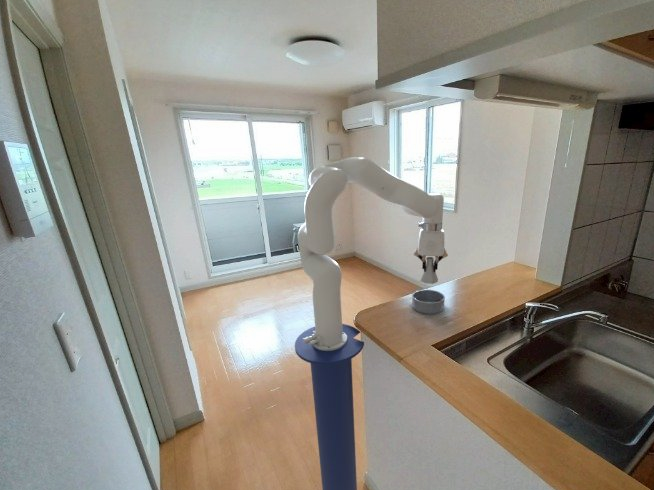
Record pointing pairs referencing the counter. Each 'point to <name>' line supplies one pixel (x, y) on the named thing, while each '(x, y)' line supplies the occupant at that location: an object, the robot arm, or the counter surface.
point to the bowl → (428, 301)
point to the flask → (429, 272)
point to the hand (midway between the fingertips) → (429, 270)
